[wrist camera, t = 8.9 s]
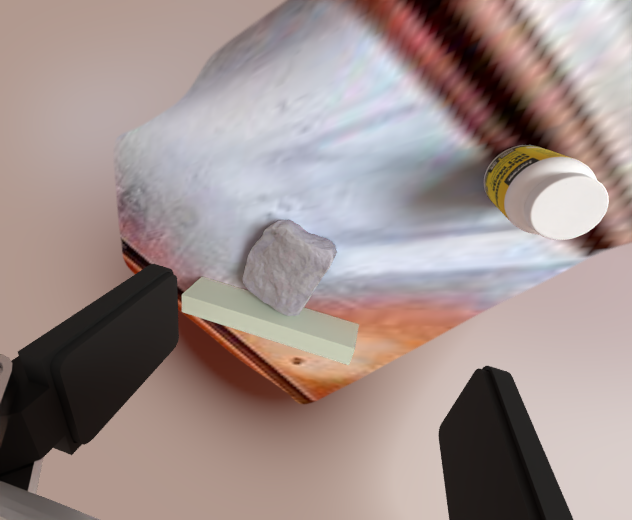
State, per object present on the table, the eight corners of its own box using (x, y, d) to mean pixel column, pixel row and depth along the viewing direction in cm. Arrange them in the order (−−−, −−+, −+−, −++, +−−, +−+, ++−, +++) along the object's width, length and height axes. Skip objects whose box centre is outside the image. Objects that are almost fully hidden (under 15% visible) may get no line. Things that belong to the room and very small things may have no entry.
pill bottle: (500, 136, 30) (549, 152, 20) (565, 153, 30) (648, 178, 20) (470, 197, 33) (501, 235, 24) (529, 213, 33) (586, 260, 23)
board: (201, 276, 46) (181, 294, 42) (358, 324, 44) (354, 348, 39) (201, 292, 48) (182, 311, 43) (353, 340, 45) (349, 365, 41)
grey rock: (251, 272, 46) (305, 311, 45) (231, 284, 42) (290, 328, 41) (283, 204, 41) (346, 246, 39) (264, 210, 37) (333, 257, 35)
